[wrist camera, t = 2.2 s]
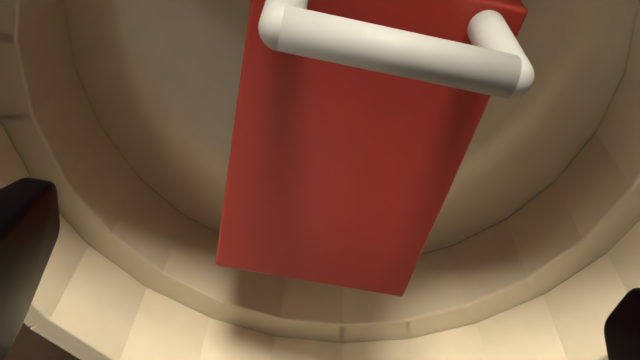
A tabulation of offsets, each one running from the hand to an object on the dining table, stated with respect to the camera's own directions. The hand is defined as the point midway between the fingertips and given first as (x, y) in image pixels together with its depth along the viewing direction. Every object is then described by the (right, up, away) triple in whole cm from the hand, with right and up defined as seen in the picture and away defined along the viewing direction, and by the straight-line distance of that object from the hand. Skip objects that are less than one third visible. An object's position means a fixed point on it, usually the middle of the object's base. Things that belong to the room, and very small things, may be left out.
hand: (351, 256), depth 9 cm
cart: (0, +4, +5) cm, 7 cm away
